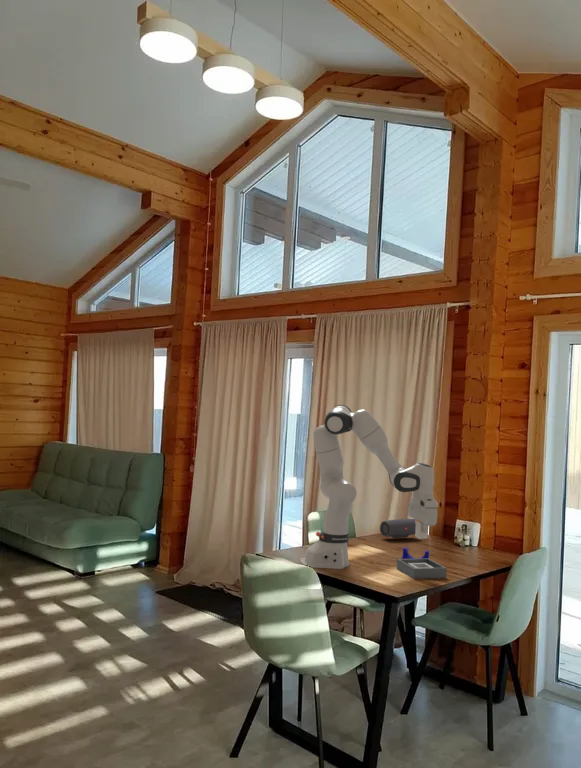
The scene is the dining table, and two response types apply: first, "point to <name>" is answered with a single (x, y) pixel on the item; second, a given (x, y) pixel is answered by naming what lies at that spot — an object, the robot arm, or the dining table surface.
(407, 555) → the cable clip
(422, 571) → the storage box
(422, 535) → the connector
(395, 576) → the dining table surface
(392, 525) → the bluetooth speaker
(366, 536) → the dining table surface
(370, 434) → the robot arm
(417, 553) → the dining table surface
